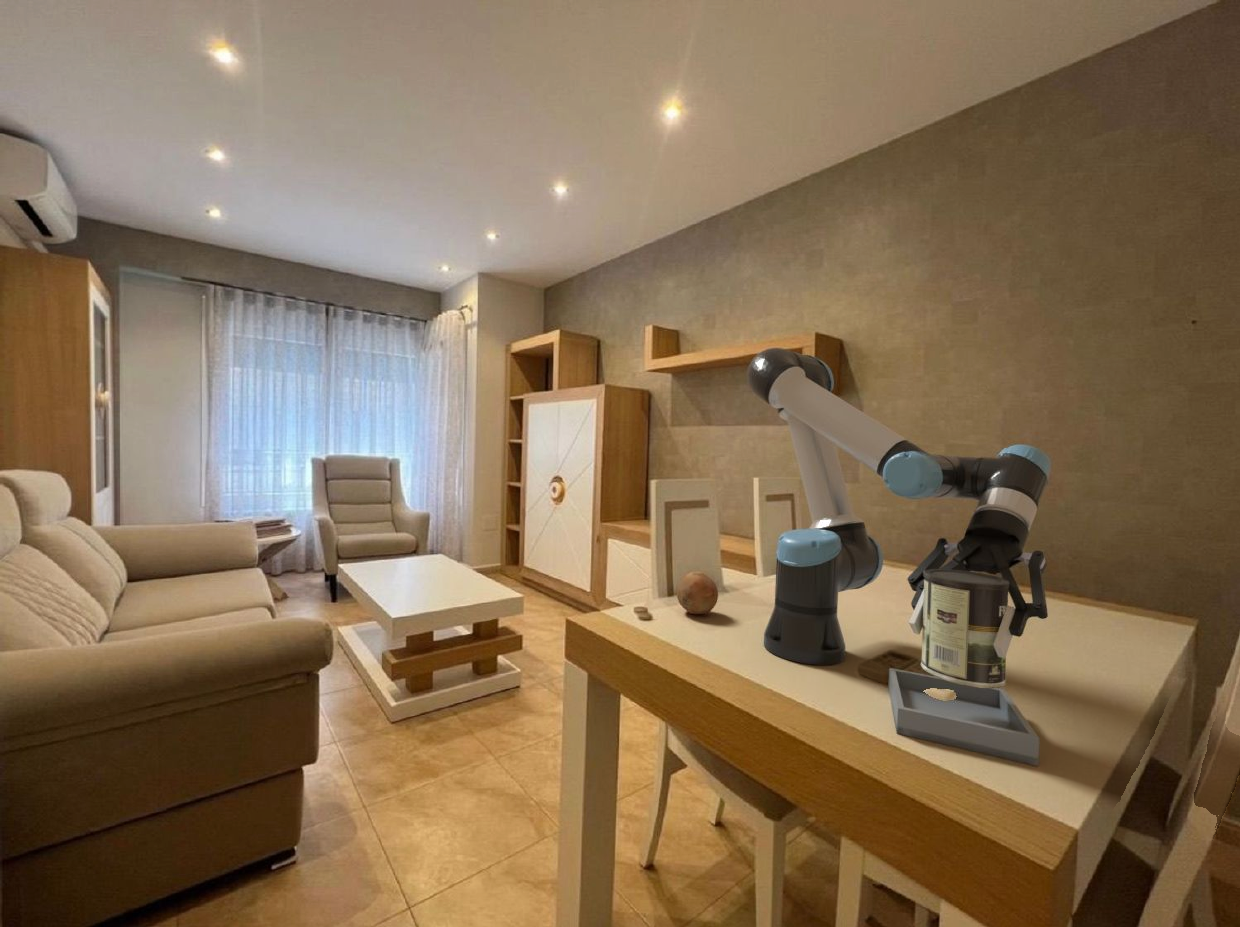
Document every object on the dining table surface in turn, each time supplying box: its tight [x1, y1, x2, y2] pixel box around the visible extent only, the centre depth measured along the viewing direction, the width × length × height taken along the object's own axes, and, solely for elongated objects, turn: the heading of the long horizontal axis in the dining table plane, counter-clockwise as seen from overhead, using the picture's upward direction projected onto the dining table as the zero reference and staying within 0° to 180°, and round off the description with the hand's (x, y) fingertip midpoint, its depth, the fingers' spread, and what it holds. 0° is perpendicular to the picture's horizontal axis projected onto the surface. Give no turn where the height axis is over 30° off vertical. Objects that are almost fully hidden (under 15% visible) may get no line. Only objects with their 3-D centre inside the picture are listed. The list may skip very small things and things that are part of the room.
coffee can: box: [920, 568, 1010, 688], centre depth 73 cm, size 10×10×14 cm
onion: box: [676, 571, 719, 615], centre depth 121 cm, size 10×10×10 cm
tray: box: [887, 667, 1040, 767], centre depth 74 cm, size 16×16×4 cm
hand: (954, 639), depth 71 cm, fingers closed on coffee can, 10 cm apart
